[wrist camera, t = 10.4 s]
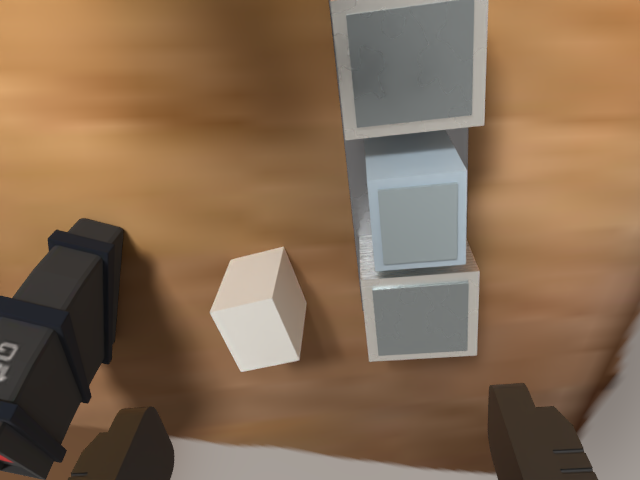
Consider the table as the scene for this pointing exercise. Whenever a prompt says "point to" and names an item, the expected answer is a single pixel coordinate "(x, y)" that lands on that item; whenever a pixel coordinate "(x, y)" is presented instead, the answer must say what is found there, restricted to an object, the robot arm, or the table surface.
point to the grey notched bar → (404, 118)
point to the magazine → (56, 343)
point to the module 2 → (416, 201)
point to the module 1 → (261, 310)
